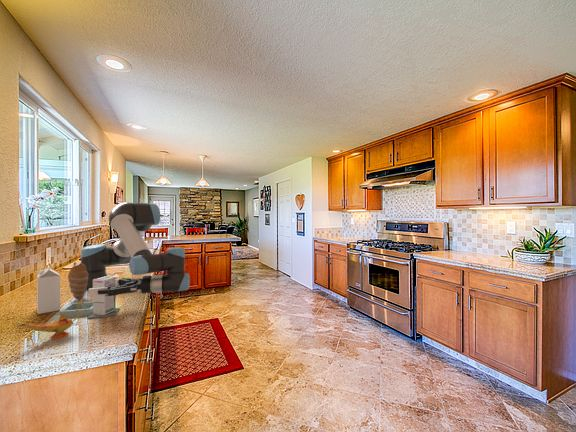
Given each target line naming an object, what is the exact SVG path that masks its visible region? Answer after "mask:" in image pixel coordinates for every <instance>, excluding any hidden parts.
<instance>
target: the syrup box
mask: <svg viewBox="0 0 576 432" xmlns="http://www.w3.org/2000/svg"><path fill="white" fill-rule="evenodd" d="M115 279H116V277H115V276H111V275H110V276H108V275H107V276H104V277H101V278H98V279H94V280H93V288H105V287H108V286H109V287H110V288H112V287H116V286H115ZM116 296H117V295H113V296H108V295H94V296H92V302H93V314H97V315H106V314H108V313H110V312H113V311H115V310H116V308H117V307H116V306H117V305H116V304H117V303H116Z"/></svg>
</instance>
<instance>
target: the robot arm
mask: <svg viewBox="0 0 576 432" xmlns="http://www.w3.org/2000/svg"><path fill="white" fill-rule="evenodd" d="M108 222H109V223H108V224H109V225H110V228H111V229H112V230H114V231H116V233H117V235H118V236H119V240H118V241H116V242H115V243H114V244H113V245H108V246H107V245H106V244H104V243H101V244H99V243H98V244H93V245H87V246H84V247H82V248H81V251H80V263H83V264H84V265H85V266H86V271H87V272H88V282H87V283H88V284H87V287H86V291H88V296H89V297H90V296H92V297H93V296H94V295H108V296H113V295H116V296H118V295H124V294H130V293H131V294H132V293H137V290H140V293H141V294H142V295H143V294H151V293H153V294H154V293H155V294H156V293H157V294H161V293H169V292H184V291H188V290H189V288H190V274H189V273H186V269H185V266H186V265H185V264H186V263H185V262H186V251H185V248H183V247H178V246H177V247H176V246H175V247H168V248H167V249H166V252H164V253H154V254H153V253H152V252H151V249H150V248H149V247H148V245H147V243H146V242H145V240H144V239H143V237H142V236H143V235H144V233H145V232H146V231H148V230H150V229H151V227H152V226H158V225H159V224H160V222H161V211H160V207H159V206H158V205H157V204H155V203H150V202H122V203H119V204H117V205H116V206H114V207H113V208H112V209H111V210H110V213H109V215H108ZM120 265H128V268H129V272H130V273H131V275H134V276H137V275H138V276H139V275H142V277H141V278H133V277H132V278H130V277H121V278H118V279H116V278H115V287H112V288H110V287H109V286H108V287H105V288H93V280H94V279H98V278H101V277H104V276H108V274H107V271H106V270H107V269H106V268H107V267H111V266H112V267H113V266H120ZM163 271H164V272H166V274H154V275H153V276H152V275H147V274H153V273H158V272H163Z"/></svg>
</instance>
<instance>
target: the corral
mask: <svg viewBox="0 0 576 432" xmlns="http://www.w3.org/2000/svg"><path fill="white" fill-rule="evenodd" d="M78 304H79V302H78ZM78 304H77V302H72V303H70V304H68V305H67V306H65V307H64V308H63V309H62V310H59V318H60V317H61V316H62V314H63V313H64V314H65V316H69V317H68V318H71V317H72V316H73V315H74V314H75V312H77V311H76V310H77V308H78V307H77V306H79V308H78V312H77V314H76V315H74V317H78V316H80V315H81V314H82V313H83V312H84V311H85V309H86V311H85V313H84V314H83V315H81V316H80V317H85V316H87V317H88V316H89V315H91V314H92V313H93V301H83V303H82V302H81V305H82V306H83V307H85V309H84V308H83V307H81V306H80V305H78ZM74 317H73V318H74Z"/></svg>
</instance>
